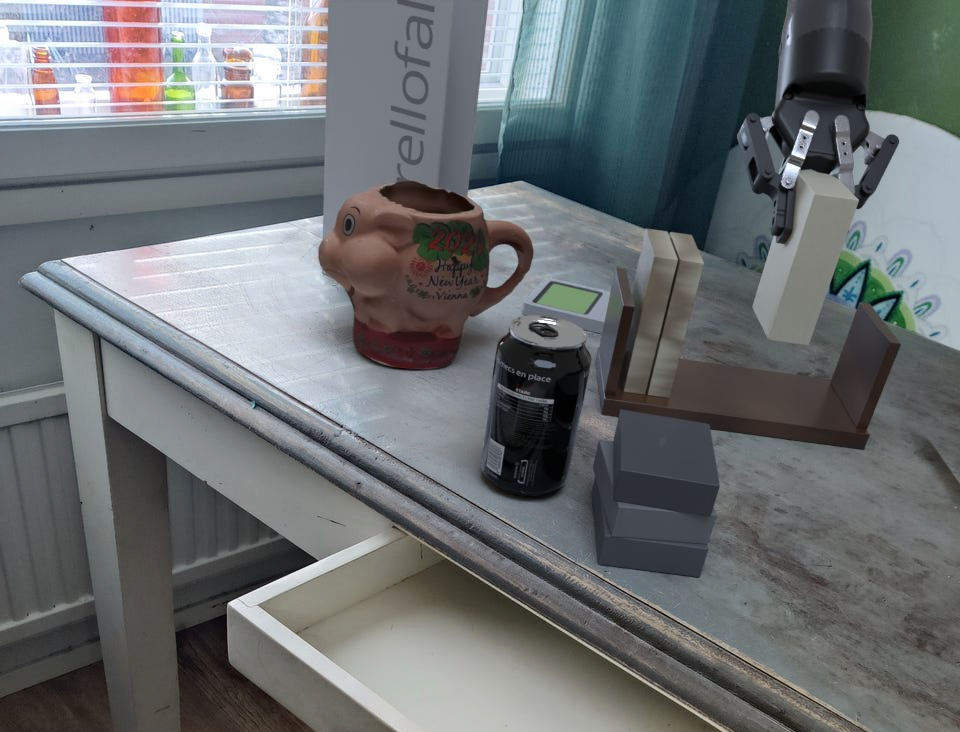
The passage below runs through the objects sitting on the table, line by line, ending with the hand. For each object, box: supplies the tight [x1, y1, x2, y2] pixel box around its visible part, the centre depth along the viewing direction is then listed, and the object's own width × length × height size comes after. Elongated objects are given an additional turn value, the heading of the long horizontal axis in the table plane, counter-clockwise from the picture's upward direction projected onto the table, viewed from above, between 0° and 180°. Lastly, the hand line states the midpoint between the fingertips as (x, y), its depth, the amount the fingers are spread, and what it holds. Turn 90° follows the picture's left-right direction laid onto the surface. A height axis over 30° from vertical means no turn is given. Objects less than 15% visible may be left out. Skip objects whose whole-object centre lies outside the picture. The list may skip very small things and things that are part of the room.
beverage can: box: [480, 315, 592, 497], centre depth 73 cm, size 7×7×12 cm
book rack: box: [594, 228, 902, 450], centre depth 89 cm, size 24×12×14 cm, turn 87°
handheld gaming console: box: [521, 277, 611, 335], centre depth 107 cm, size 10×2×15 cm
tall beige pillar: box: [752, 170, 859, 347], centre depth 85 cm, size 4×8×12 cm, turn 178°
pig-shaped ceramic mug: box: [317, 181, 535, 370], centre depth 90 cm, size 20×12×14 cm, turn 114°
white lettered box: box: [321, 0, 490, 276], centre depth 97 cm, size 14×6×30 cm, turn 55°
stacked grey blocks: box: [591, 410, 721, 578], centre depth 70 cm, size 8×10×7 cm
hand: (808, 241), depth 83 cm, fingers closed on tall beige pillar, 3 cm apart
